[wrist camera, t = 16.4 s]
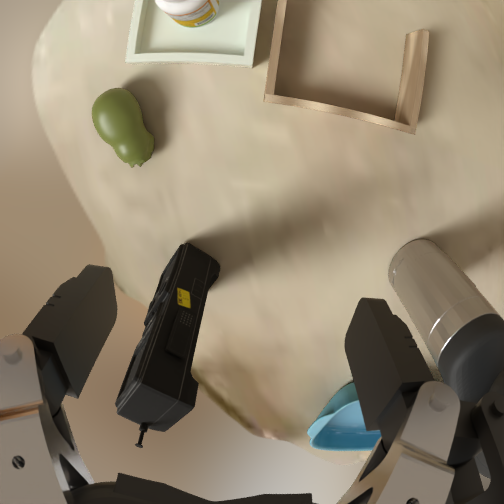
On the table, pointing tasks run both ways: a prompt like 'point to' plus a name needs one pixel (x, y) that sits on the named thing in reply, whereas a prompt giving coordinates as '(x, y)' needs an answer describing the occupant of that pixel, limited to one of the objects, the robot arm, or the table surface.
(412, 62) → the frame
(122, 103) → the pear
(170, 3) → the supplement bottle
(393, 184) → the table surface
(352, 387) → the casserole dish
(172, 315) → the portable radio
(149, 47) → the plastic tray
